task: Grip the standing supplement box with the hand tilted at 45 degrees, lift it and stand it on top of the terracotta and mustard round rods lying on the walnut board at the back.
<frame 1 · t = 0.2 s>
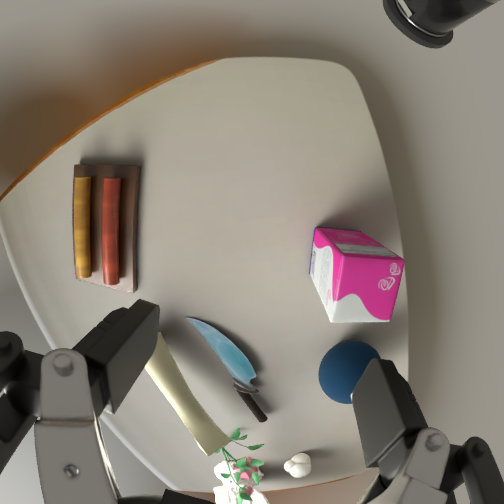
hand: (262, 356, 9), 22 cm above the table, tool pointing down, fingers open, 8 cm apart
cherub figurine: (243, 469, 46), on the table
christmas ornament: (343, 352, 35), on the table
knife: (239, 369, 37), on the table
flower vase: (213, 408, 40), on the table
rod rack: (104, 226, 32), on the table
supplement box: (335, 251, 31), on the table
microfossil shell: (297, 455, 43), on the table
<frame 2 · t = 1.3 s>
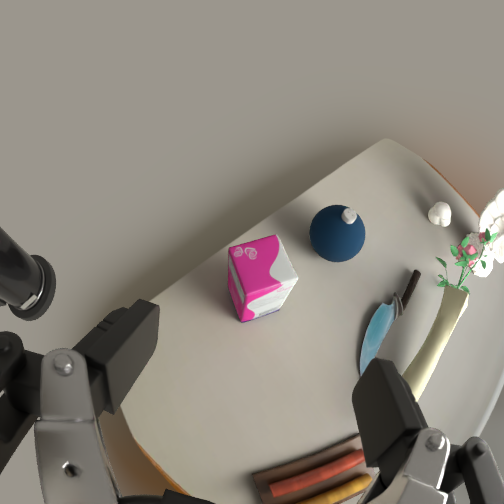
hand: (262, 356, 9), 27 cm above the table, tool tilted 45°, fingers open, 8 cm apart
cherub figurine: (472, 253, 47), on the table
christmas ornament: (327, 247, 43), on the table
knife: (385, 318, 38), on the table
flower vase: (431, 317, 39), on the table
rod rack: (318, 482, 26), on the table
supplement box: (252, 298, 38), on the table
microfossil shell: (434, 222, 49), on the table
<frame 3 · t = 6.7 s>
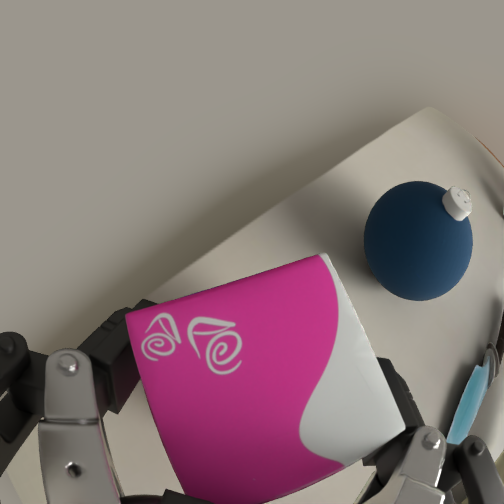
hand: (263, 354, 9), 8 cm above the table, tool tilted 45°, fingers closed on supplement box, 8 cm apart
christmas ornament: (389, 266, 21), on the table
knife: (473, 388, 16), on the table
supplement box: (242, 387, 16), on the table, touching gripper
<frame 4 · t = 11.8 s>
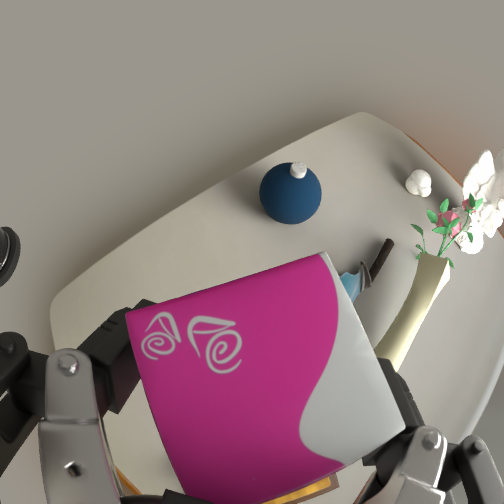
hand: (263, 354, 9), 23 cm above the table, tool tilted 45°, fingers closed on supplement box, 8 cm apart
cherub figurine: (459, 229, 44), on the table
christmas ornament: (284, 211, 40), on the table
knife: (349, 290, 36), on the table
flower vase: (408, 292, 36), on the table
rod rack: (265, 477, 24), on the table
supplement box: (242, 387, 16), point 15 cm above the table, touching gripper
microfossil shell: (413, 193, 46), on the table
when the fingers open (11 cm above the table, at t = 17.3 s): supplement box stays where it is, resting on rod rack.
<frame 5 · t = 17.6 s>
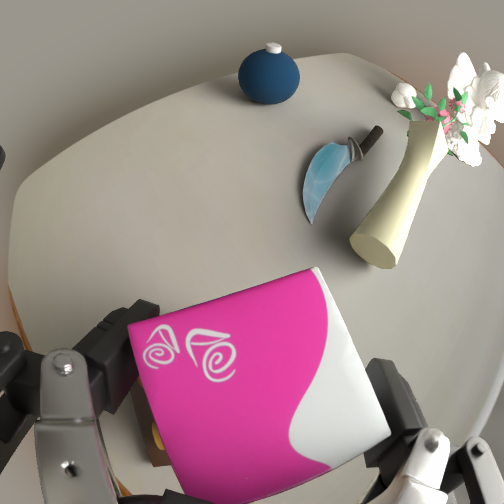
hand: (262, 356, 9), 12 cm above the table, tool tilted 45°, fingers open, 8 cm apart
cherub figurine: (454, 144, 39), on the table
christmas ornament: (265, 101, 36), on the table
knife: (339, 162, 31), on the table
flower vase: (407, 177, 32), on the table
rod rack: (238, 386, 19), on the table
supplement box: (240, 389, 16), point 3 cm above the table, touching rod rack
microfossil shell: (400, 107, 42), on the table
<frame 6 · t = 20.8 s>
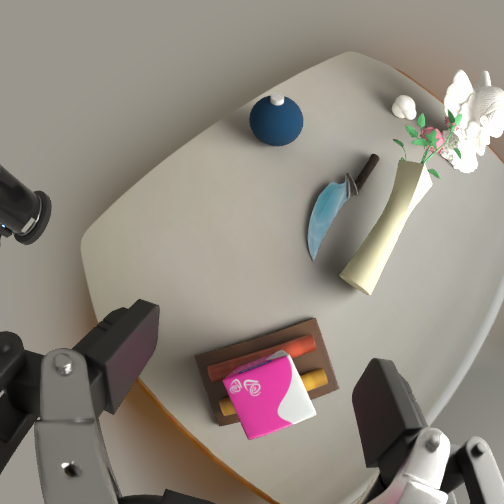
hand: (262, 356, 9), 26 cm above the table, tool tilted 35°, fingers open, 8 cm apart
cherub figurine: (451, 149, 43), on the table
christmas ornament: (275, 138, 44), on the table
knife: (338, 198, 40), on the table
flower vase: (398, 202, 39), on the table
rod rack: (267, 374, 32), on the table
supplement box: (267, 378, 30), point 3 cm above the table, touching rod rack
microfossil shell: (401, 117, 45), on the table
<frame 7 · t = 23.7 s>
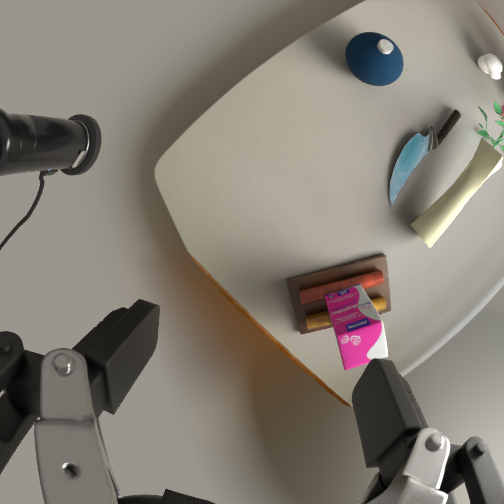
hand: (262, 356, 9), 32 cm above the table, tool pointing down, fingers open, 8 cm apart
christmas ornament: (366, 68, 32), on the table
knife: (419, 148, 35), on the table
flower vase: (466, 161, 34), on the table
rod rack: (341, 294, 42), on the table
supplement box: (345, 303, 40), point 3 cm above the table, touching rod rack
microfossil shell: (483, 69, 27), on the table
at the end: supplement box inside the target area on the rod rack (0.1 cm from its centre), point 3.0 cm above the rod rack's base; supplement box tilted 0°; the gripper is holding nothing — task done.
